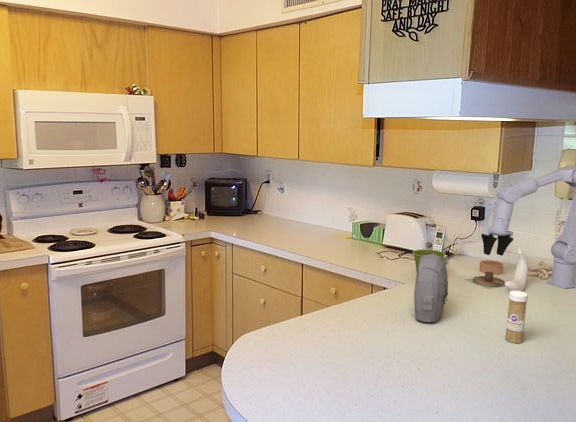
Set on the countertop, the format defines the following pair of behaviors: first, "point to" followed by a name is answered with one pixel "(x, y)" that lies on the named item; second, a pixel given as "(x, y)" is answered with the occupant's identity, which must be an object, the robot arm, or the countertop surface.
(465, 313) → the countertop surface
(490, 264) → the bowl
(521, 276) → the white curved piece
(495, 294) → the countertop surface
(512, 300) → the sprinkles bottle
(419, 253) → the plant pot
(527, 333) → the countertop surface
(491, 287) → the mat
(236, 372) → the countertop surface
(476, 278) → the lid
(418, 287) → the soft grey pack
